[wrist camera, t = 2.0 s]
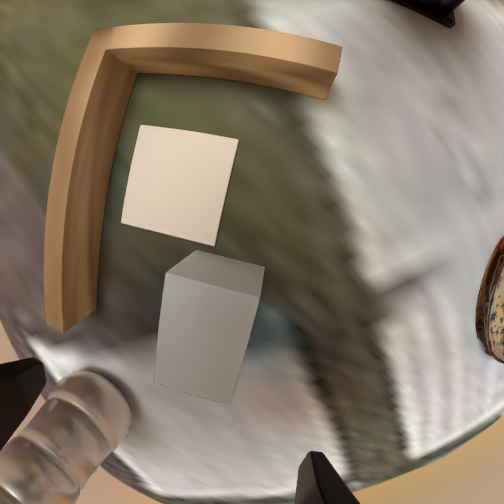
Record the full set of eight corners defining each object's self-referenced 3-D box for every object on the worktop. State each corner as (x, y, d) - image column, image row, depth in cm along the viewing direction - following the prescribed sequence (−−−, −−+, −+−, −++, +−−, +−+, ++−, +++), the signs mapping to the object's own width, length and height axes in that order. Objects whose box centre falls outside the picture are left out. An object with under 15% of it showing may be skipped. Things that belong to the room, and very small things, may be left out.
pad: (239, 140, 15) (238, 139, 15) (214, 245, 16) (214, 246, 16) (142, 125, 15) (140, 124, 15) (122, 222, 17) (121, 222, 16)
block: (265, 266, 17) (260, 297, 12) (241, 354, 18) (230, 405, 13) (197, 249, 17) (165, 272, 12) (181, 338, 18) (153, 382, 13)
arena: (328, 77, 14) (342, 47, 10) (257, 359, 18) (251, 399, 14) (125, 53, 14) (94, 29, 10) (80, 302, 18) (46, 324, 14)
